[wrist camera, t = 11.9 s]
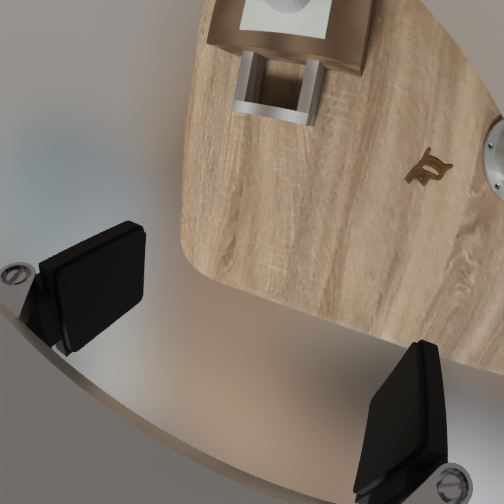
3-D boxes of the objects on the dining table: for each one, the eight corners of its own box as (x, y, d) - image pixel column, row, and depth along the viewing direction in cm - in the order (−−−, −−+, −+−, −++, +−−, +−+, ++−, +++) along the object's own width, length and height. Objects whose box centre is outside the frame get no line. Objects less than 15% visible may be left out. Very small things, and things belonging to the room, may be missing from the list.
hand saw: (350, 285, 47) (349, 288, 46) (327, 267, 47) (327, 269, 46) (453, 167, 34) (455, 167, 34) (430, 144, 35) (430, 144, 34)
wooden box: (376, -7, 28) (375, -36, 20) (350, 135, 38) (345, 136, 30) (253, -21, 33) (227, -45, 25) (226, 108, 43) (194, 106, 35)
